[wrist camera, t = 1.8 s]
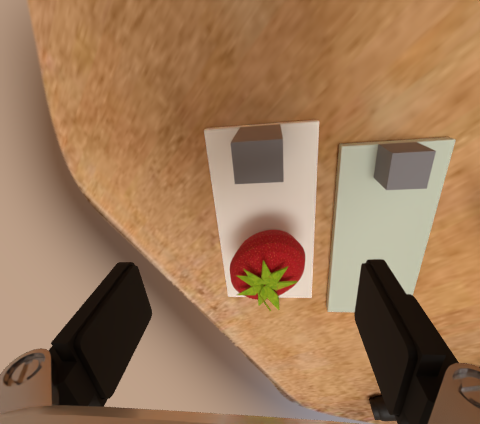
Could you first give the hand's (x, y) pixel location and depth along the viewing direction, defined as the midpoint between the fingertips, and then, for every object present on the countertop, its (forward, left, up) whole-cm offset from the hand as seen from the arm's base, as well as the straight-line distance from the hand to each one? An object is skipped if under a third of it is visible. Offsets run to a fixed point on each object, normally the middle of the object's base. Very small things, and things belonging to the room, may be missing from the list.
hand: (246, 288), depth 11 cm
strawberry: (+8, 0, -17) cm, 18 cm away
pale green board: (+8, +12, -16) cm, 22 cm away
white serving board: (+6, 0, -16) cm, 17 cm away
